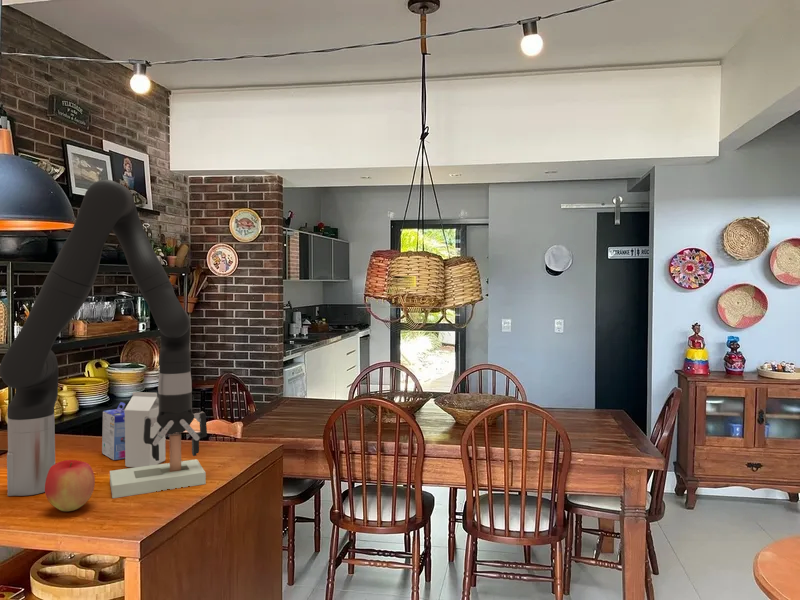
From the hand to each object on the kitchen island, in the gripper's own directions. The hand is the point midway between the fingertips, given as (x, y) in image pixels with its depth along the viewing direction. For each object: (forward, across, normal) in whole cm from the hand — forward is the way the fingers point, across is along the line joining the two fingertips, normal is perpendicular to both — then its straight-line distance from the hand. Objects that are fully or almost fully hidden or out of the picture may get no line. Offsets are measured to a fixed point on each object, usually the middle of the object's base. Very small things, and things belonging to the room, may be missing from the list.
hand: (175, 457), depth 145 cm
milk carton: (+6, -5, +18) cm, 20 cm away
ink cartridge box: (+6, -11, +30) cm, 33 cm away
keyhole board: (+6, -4, 0) cm, 7 cm away
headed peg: (+6, 0, 0) cm, 6 cm away
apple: (+6, -22, -9) cm, 25 cm away
